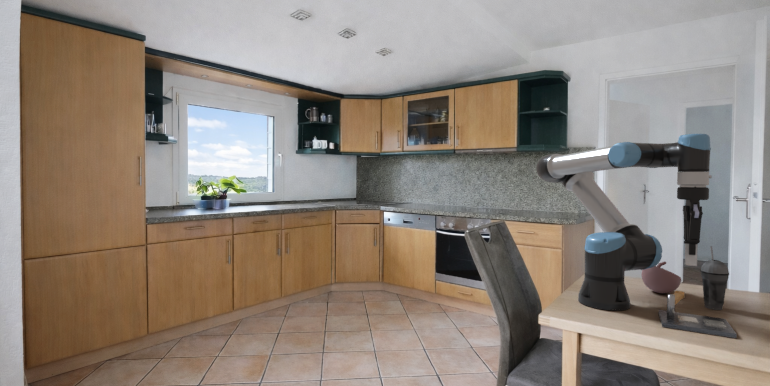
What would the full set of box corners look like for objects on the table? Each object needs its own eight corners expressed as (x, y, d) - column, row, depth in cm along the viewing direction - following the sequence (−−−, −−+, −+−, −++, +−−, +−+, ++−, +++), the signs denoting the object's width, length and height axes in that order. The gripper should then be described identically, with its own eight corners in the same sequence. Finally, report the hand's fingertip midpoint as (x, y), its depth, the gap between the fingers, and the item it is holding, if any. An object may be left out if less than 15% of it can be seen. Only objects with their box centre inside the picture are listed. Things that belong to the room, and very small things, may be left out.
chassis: (662, 326, 112) (662, 299, 112) (658, 313, 124) (659, 288, 123) (736, 338, 104) (737, 308, 104) (725, 323, 115) (726, 296, 115)
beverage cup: (733, 312, 125) (735, 248, 124) (707, 310, 126) (709, 247, 126) (719, 305, 132) (721, 244, 131) (694, 303, 134) (696, 244, 133)
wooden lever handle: (676, 305, 117) (677, 299, 116) (667, 303, 118) (667, 297, 118) (685, 297, 125) (685, 291, 125) (675, 295, 127) (675, 290, 126)
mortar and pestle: (689, 296, 142) (690, 264, 142) (662, 298, 139) (662, 265, 139) (659, 287, 154) (659, 257, 153) (633, 289, 151) (633, 259, 150)
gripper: (714, 186, 111) (712, 271, 112) (703, 186, 123) (701, 262, 124) (681, 186, 115) (679, 268, 115) (673, 186, 126) (671, 260, 127)
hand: (690, 265), depth 120 cm, fingers closed
